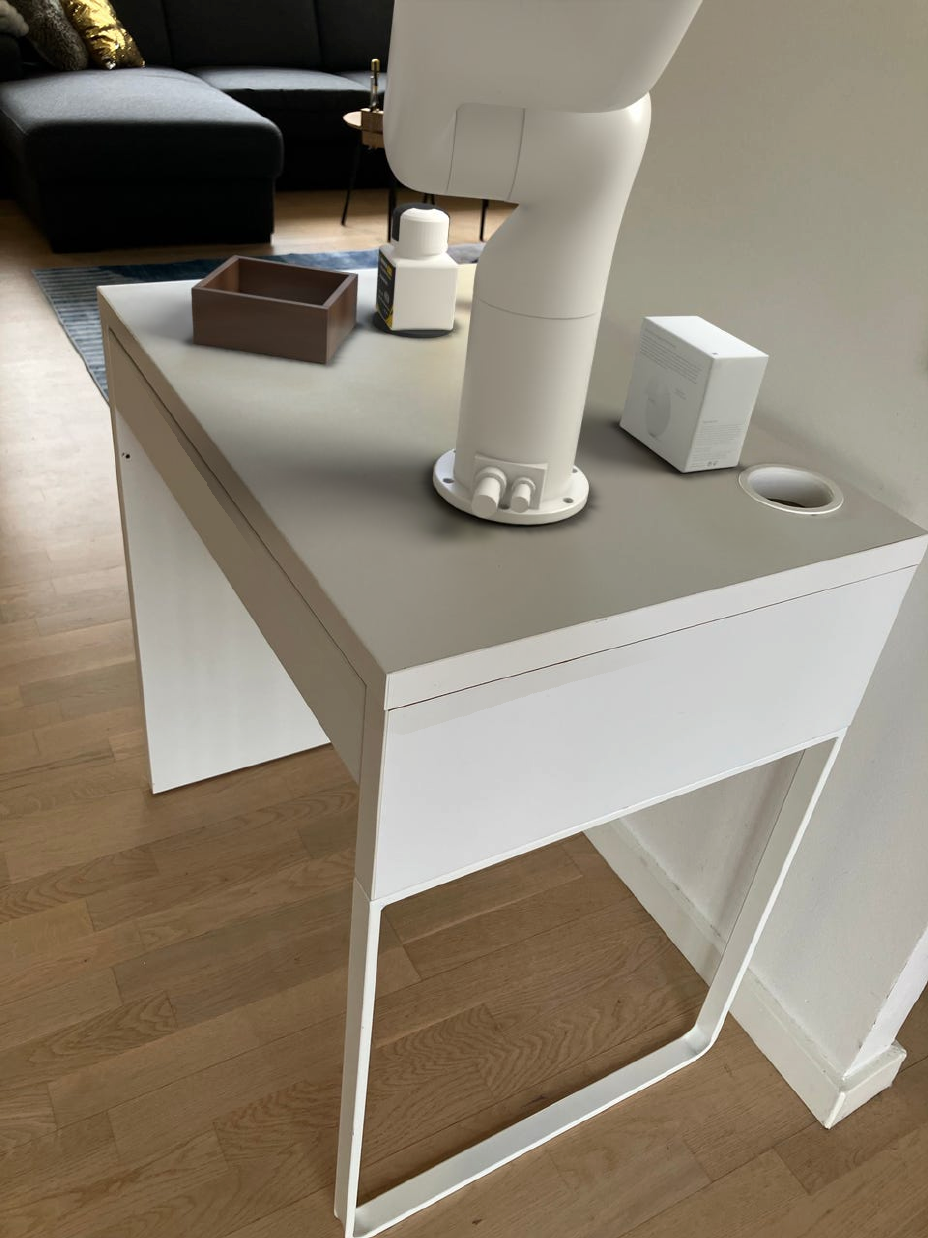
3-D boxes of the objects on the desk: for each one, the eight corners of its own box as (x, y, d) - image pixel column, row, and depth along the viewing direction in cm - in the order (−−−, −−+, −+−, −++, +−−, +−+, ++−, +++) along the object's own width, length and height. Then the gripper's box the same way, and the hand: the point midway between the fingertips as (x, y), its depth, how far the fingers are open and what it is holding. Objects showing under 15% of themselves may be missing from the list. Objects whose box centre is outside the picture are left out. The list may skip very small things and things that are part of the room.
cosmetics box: (740, 467, 92) (773, 353, 86) (682, 475, 89) (711, 358, 83) (673, 419, 99) (698, 311, 93) (617, 425, 97) (640, 315, 91)
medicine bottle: (374, 308, 116) (380, 196, 109) (435, 309, 118) (445, 199, 111) (390, 331, 110) (397, 214, 103) (453, 331, 112) (465, 216, 105)
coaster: (446, 342, 110) (446, 339, 110) (364, 329, 111) (364, 326, 110) (459, 317, 118) (459, 313, 117) (382, 305, 118) (382, 301, 118)
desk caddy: (326, 364, 101) (327, 309, 98) (193, 343, 102) (190, 287, 99) (356, 324, 112) (358, 273, 109) (235, 305, 113) (234, 254, 110)
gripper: (432, -264, 73) (414, 14, 82) (676, -237, 72) (629, 42, 81) (448, -246, 79) (430, 11, 88) (673, -221, 78) (629, 36, 87)
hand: (525, 26), depth 85 cm, fingers open, 9 cm apart
